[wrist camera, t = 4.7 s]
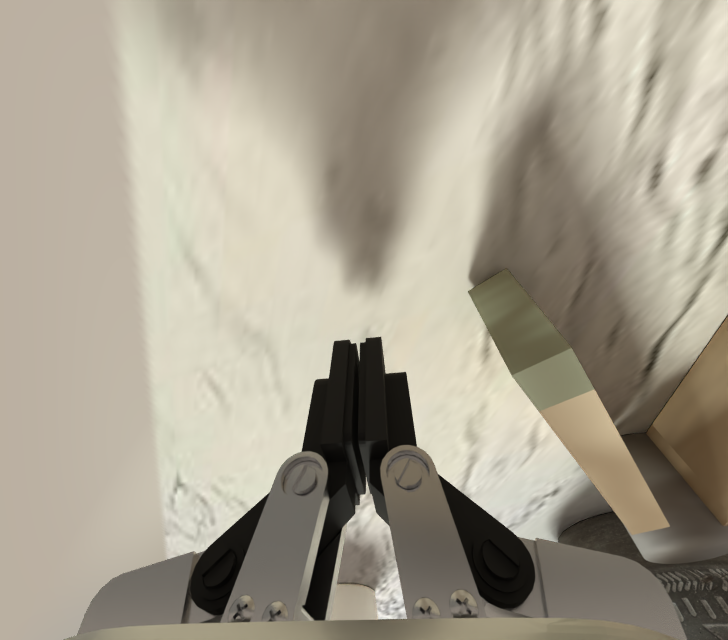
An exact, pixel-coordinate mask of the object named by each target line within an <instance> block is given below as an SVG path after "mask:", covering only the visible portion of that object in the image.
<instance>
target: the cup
mask: <svg viewBox="0 0 728 640" xmlns="http://www.w3.org/2000/svg"><path fill="white" fill-rule="evenodd" d="M331 620H378V614H377V606H376V598H375V592H374V591H373V590H372V589H371V588H369V587H367V586H364V585H359V584H337V586H336V592H335V597H334V603H333V609H332V615H331Z"/></svg>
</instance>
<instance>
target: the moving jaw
mask: <svg viewBox="0 0 728 640" xmlns="http://www.w3.org/2000/svg"><path fill="white" fill-rule="evenodd" d="M468 292H469V294H470V296H471V298H472V300H473V302H474V304H475V306H476V308H477V310H478V312H479V314H480V316H481V317H482V319H483V321H484V323H485V325H486V327H487V329H488V331H489V333H490V335H491V337H492V339H493V340H494V342H495V344H496V346H497V348H498V350H499V352H500V354H501V356H502V358H503V360H504V362H505V364H506V365H507V367H508V369H509V371H510V373H511V375H512V377H513V378H514V379H515V380H516V382H517V383H518V384H519V386H520V387H521V388H522V390H523V391H524V392H525V394H526V395H527V396H528V398H529V399H530V400H531V402H532V403H533V404H534V406H535V407H536V408H537V410H538V411H539V412H540V414H541V415H542V416H543V418H544V419H545V420H546V422H547V423H548V424H549V426H550V427H551V428H552V430H553V431H554V432H555V434H556V435H557V436H558V438H559V439H560V440H561V442H562V443H563V444H564V446H565V447H566V448H567V449H568V451H569V452H570V453H571V455H572V456H573V457H574V459H575V460H576V461H577V463H578V464H579V465H580V467H581V468H582V469H583V471H584V472H585V473H586V475H587V476H588V477H589V479H590V480H591V481H592V483H593V484H594V485H595V487H596V488H597V489H598V491H599V492H600V493H601V495H602V496H603V497H604V499H605V500H606V501H607V503H608V504H609V505H610V507H611V508H612V509H613V511H614V512H615V513H616V515H617V516H618V517H619V518H620V520H621V521H622V522H623V524H624V525H625V526H626V528H627V529H628V530H629V532H630V533H631V534H632V535H635V534H639V533H644V532H648V531H653V530H657V529H662V528H666V527H670V525H669V523H668V522H667V520H666V518H665V516H664V514H663V513H662V511H661V509H660V507H659V505H658V503H657V502H656V500H655V498H654V496H653V494H652V493H651V491H650V489H649V487H648V485H647V483H646V482H645V480H644V478H643V476H642V474H641V473H640V471H639V469H638V467H637V465H636V464H635V462H634V460H633V458H632V456H631V454H630V453H629V451H628V449H627V447H626V445H625V444H624V442H623V440H622V438H621V436H620V435H619V433H618V431H617V429H616V427H615V425H614V424H613V422H612V420H611V418H610V416H609V415H608V413H607V411H606V409H605V407H604V405H603V404H602V402H601V400H600V398H599V396H598V395H597V393H596V391H595V389H594V387H593V386H592V384H591V382H590V380H589V378H588V376H587V375H586V373H585V371H584V369H583V367H582V366H581V364H580V362H579V360H578V358H577V357H576V355H575V353H574V351H573V349H572V348H571V346H570V345H569V344H568V343H567V341H566V340H565V339H564V338H563V337H562V335H561V334H560V333H559V332H558V330H557V329H556V328H555V327H554V326H553V324H552V323H551V322H550V321H549V319H548V318H547V317H546V316H545V315H544V313H543V312H542V311H541V310H540V308H539V307H538V306H537V305H536V304H535V302H534V301H533V300H532V299H531V297H530V296H529V295H528V294H527V293H526V291H525V290H524V289H523V288H522V286H521V285H520V284H519V283H518V282H517V280H516V279H515V278H514V277H513V275H512V274H511V273H510V272H509V271H508V269H507V268H506V269H504V270H503V271H501V272H499V273H498V274H496V275H494V276H493V277H491V278H489V279H488V280H486V281H484V282H483V283H481V284H479V285H478V286H476V287H474V288H473V289H471V290H470V291H468Z"/></svg>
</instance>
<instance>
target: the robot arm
mask: <svg viewBox="0 0 728 640" xmlns="http://www.w3.org/2000/svg"><path fill="white" fill-rule="evenodd" d="M366 477H367V482H368V486H369V490H370V494H372V496H373V500H374V504H375V509H376V513H377V514H378V515H379V516H380V517H381V518H382V519H383V520H384V521H385V522H386V523H387V524H388V525H389V526H390V530H391V535H392V540H393V546H394V551H395V556H396V562H397V567H398V572H399V578H400V583H401V588H402V594H403V599H404V604H405V610H406V615H407V619H380V620H331V615H332V609H333V603H334V597H335V592H336V586H337V580H338V575H339V569H340V563H341V558H342V552H343V546H344V541H345V535H346V529H347V522H348V521H349V520H350V519H351V518H352V517H353V515H354V514H355V505H360V495H361V494H365V493H366ZM64 640H687V638H686V635H685V633H684V630H683V628H682V625H681V623H680V620H679V618H678V615H677V613H676V610H675V608H674V605H673V603H672V600H671V599H670V597H669V595H668V593H667V592H666V590H665V588H664V586H663V585H662V584H661V583H660V581H659V580H658V579H657V578H656V577H655V576H654V575H653V574H652V573H651V572H650V571H649V570H647V569H646V568H645V567H643V566H642V565H640V564H639V563H638V562H635V561H633V560H630V559H628V558H625V557H622V556H617V555H612V554H608V553H603V552H598V551H594V550H589V549H585V548H580V547H575V546H571V545H566V544H562V543H557V542H552V541H548V540H543V539H538V538H536V539H535V541H534V540H529V539H525V538H520V537H517V536H516V535H515V534H514V533H513V532H511V531H510V530H509V529H508V528H506V527H505V526H504V525H502V524H501V523H500V522H499V521H497V520H496V519H495V518H494V517H492V516H491V515H490V514H488V513H487V512H486V511H485V510H483V509H482V508H481V507H479V506H478V505H477V504H476V503H474V502H473V501H472V500H471V499H469V498H468V497H467V496H465V495H464V494H463V493H462V492H460V491H459V490H458V489H456V488H455V487H454V486H453V485H451V484H450V483H449V482H447V481H446V480H445V479H444V478H442V477H441V476H440V475H439V474H438V473H437V471H436V468H435V465H434V463H433V461H432V459H431V457H430V456H429V455H428V454H427V453H426V452H425V451H424V450H422V449H420V448H418V447H417V444H416V437H415V431H414V424H413V417H412V410H411V403H410V396H409V389H408V382H407V375H406V372H401V373H389V374H385V365H384V357H383V348H382V340H381V337H375V338H366V342H365V343H360V362H359V356H358V351H357V345H356V343H354V344H351V342H350V340H342V341H334V345H333V352H332V360H331V367H330V375H329V378H328V379H317V380H316V381H315V383H314V387H313V393H312V398H311V404H310V409H309V415H308V420H307V426H306V431H305V437H304V442H303V448H302V452H300V453H297V454H294V455H293V456H291V457H290V458H288V459H287V460H286V461H285V462H284V463H283V464H282V466H281V467H280V469H279V471H278V473H277V475H276V478H275V480H274V483H273V485H272V488H271V491H270V493H268V494H267V495H266V496H265V497H264V498H263V499H262V500H261V501H259V502H258V503H257V504H256V505H255V506H254V507H253V508H252V509H251V510H249V511H248V512H247V513H246V514H245V515H244V516H243V517H242V518H240V519H239V520H238V521H237V522H236V523H235V524H234V525H233V526H232V527H230V528H229V529H228V530H227V531H226V532H225V533H224V534H223V535H221V536H220V537H219V538H218V539H217V540H216V541H215V542H214V543H213V544H211V545H210V546H209V547H208V549H207V550H206V551H204V552H200V553H196V552H194V551H193V552H190V553H187V554H184V555H181V556H177V557H174V558H171V559H168V560H165V561H162V562H158V563H155V564H152V565H149V566H146V567H143V568H140V569H136V570H133V571H130V572H127V573H123V574H121V575H119V576H117V577H115V578H113V579H112V580H110V581H109V582H108V583H107V584H106V585H105V586H103V587H102V588H101V589H100V591H99V592H98V593H97V595H96V596H95V597H94V598H93V600H92V601H91V603H90V605H89V607H88V609H87V611H86V613H85V615H84V618H83V621H82V623H81V626H80V629H79V631H78V634H77V635H76V636H73V637H70V638H67V639H64Z"/></svg>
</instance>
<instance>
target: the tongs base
mask: <svg viewBox="0 0 728 640" xmlns="http://www.w3.org/2000/svg"><path fill="white" fill-rule="evenodd" d="M621 438H622V440H623V442H624V444H625V445H626V447H627V449H628V451H629V453H630V454H631V456H632V458H633V460H634V462H635V464H636V465H637V467H638V469H639V471H640V473H641V474H642V476H643V478H644V480H645V482H646V483H647V485H648V487H649V489H650V491H651V493H652V494H653V496H654V498H655V500H656V502H657V503H658V505H659V507H660V509H661V511H662V513H663V514H664V516H665V518H666V520H667V522H668V523H669V525H670V527H666V528H662V529H657V530H653V531H648V532H644V533H639V534H635V535H632V534H631V533H630V532H629V530H628V529H627V528H626V526H625V525H624V526H625V528H626V529H627V531H628V533H629V534H630V536H631V538H632V539H633V541H634V543H635V544H636V546H637V548H638V549H639V551H640V553H641V554H642V556H643V558H644V559H645V560H647V561H649V562H653V563H659V564H680V563H690V562H697V561H702V560H707V559H712V558H716V557H719V556H722V555H725V554H728V316H727V318H726V319H725V321H724V322H723V324H722V325H721V327H720V328H719V329H718V331H717V332H716V334H715V335H714V337H713V338H712V339H711V341H710V342H709V344H708V345H707V347H706V348H705V349H704V351H703V352H702V354H701V355H700V357H699V358H698V359H697V361H696V362H695V364H694V365H693V367H692V368H691V369H690V371H689V372H688V374H687V375H686V377H685V378H684V379H683V381H682V382H681V384H680V385H679V387H678V388H677V389H676V391H675V392H674V394H673V395H672V397H671V398H670V399H669V401H668V402H667V404H666V405H665V407H664V408H663V409H662V411H661V412H660V414H659V415H658V417H657V418H656V419H655V421H654V422H653V424H652V425H651V427H650V428H649V429H648V431H647V432H646V433H636V434H629V435H624V436H621ZM622 523H623V522H622Z"/></svg>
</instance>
